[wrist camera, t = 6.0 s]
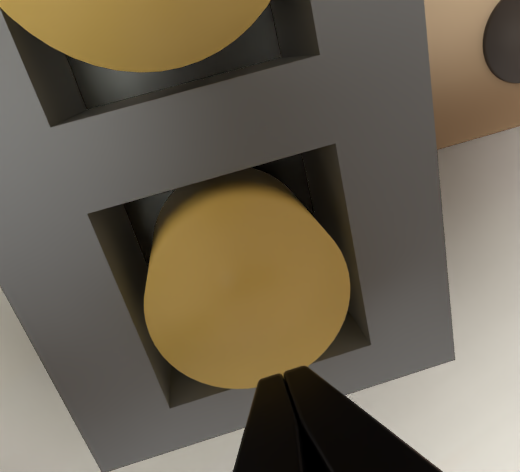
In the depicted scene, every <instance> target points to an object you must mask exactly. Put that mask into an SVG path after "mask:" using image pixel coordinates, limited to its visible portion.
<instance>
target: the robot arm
mask: <svg viewBox="0 0 520 472" xmlns="http://www.w3.org/2000/svg"><path fill="white" fill-rule="evenodd" d="M233 472H443V471H441V470H440V469H439V468H437V467H436V466H435V465H434V464H432V463H431V462H430V461H428V460H427V459H426V458H425V457H423V456H422V455H421V454H419V453H418V452H417V451H416V450H414V449H413V448H412V447H410V446H409V445H408V444H407V443H405V442H404V441H403V440H401V439H400V438H399V437H398V436H396V435H395V434H394V433H392V432H391V431H390V430H389V429H387V428H386V427H385V426H383V425H382V424H381V423H380V422H378V421H377V420H376V419H374V418H373V417H372V416H371V415H369V414H368V413H367V412H365V411H364V410H363V409H361V408H360V407H359V406H358V405H356V404H355V403H354V402H352V401H351V400H350V399H349V398H347V397H346V396H345V395H343V394H342V393H341V392H340V391H338V390H337V389H336V388H334V387H333V386H332V385H331V384H329V383H328V382H327V381H325V380H324V379H323V378H322V377H320V376H319V375H318V374H316V373H315V372H314V371H313V370H311V369H310V368H309V367H307V366H300V367H296V368H293V369H290V370H287V371H285V372H284V374H283V375H282V374H280V373H277V374H274V375H271V376H268V377H264V378H261V379H260V380H259V381H258V384H257V387H256V390H255V394H254V398H253V401H252V405H251V408H250V412H249V416H248V419H247V423H246V426H245V430H244V434H243V437H242V441H241V444H240V448H239V452H238V455H237V459H236V462H235V466H234V470H233Z"/></svg>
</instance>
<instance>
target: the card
mask: <svg viewBox="0 0 520 472" xmlns="http://www.w3.org/2000/svg"><path fill="white" fill-rule="evenodd" d="M424 6H425V17H426V29H427V41H428V52H429V64H430V75H431V87H432V98H433V110H434V121H435V133H436V145H437V150H438V149H442V148H445V147H449V146H452V145H456V144H459V143H463V142H466V141H469V140H473V139H476V138H480V137H483V136H487V135H490V134H494V133H497V132H501V131H504V130H507V129H511V128H514V127H518V126H520V0H424Z"/></svg>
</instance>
